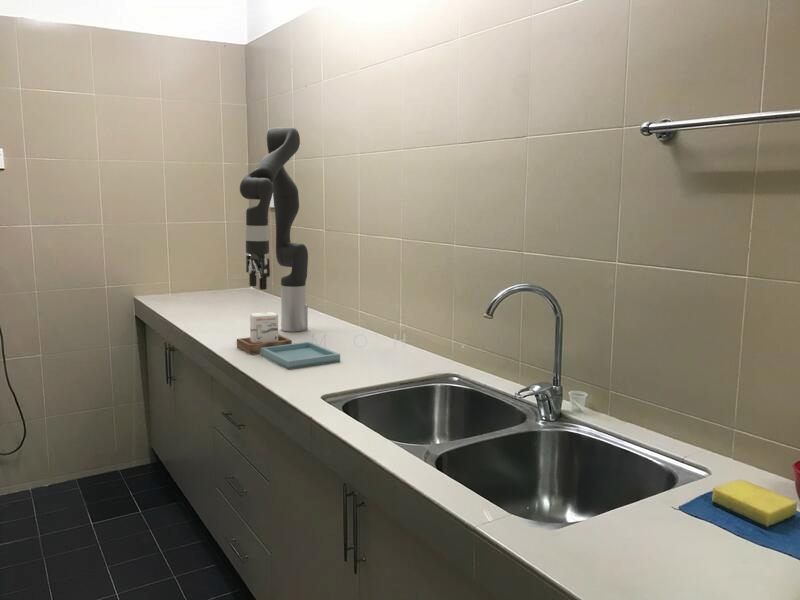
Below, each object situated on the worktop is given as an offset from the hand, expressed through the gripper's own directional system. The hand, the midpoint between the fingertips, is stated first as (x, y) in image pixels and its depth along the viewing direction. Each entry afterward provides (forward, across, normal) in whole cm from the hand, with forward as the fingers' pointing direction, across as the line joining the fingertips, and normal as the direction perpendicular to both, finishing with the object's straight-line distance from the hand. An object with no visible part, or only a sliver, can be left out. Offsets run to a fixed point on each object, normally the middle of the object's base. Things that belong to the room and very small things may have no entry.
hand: (257, 287), depth 220 cm
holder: (+21, -1, -2) cm, 21 cm away
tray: (+21, -19, -6) cm, 29 cm away
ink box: (+21, -1, -2) cm, 21 cm away
